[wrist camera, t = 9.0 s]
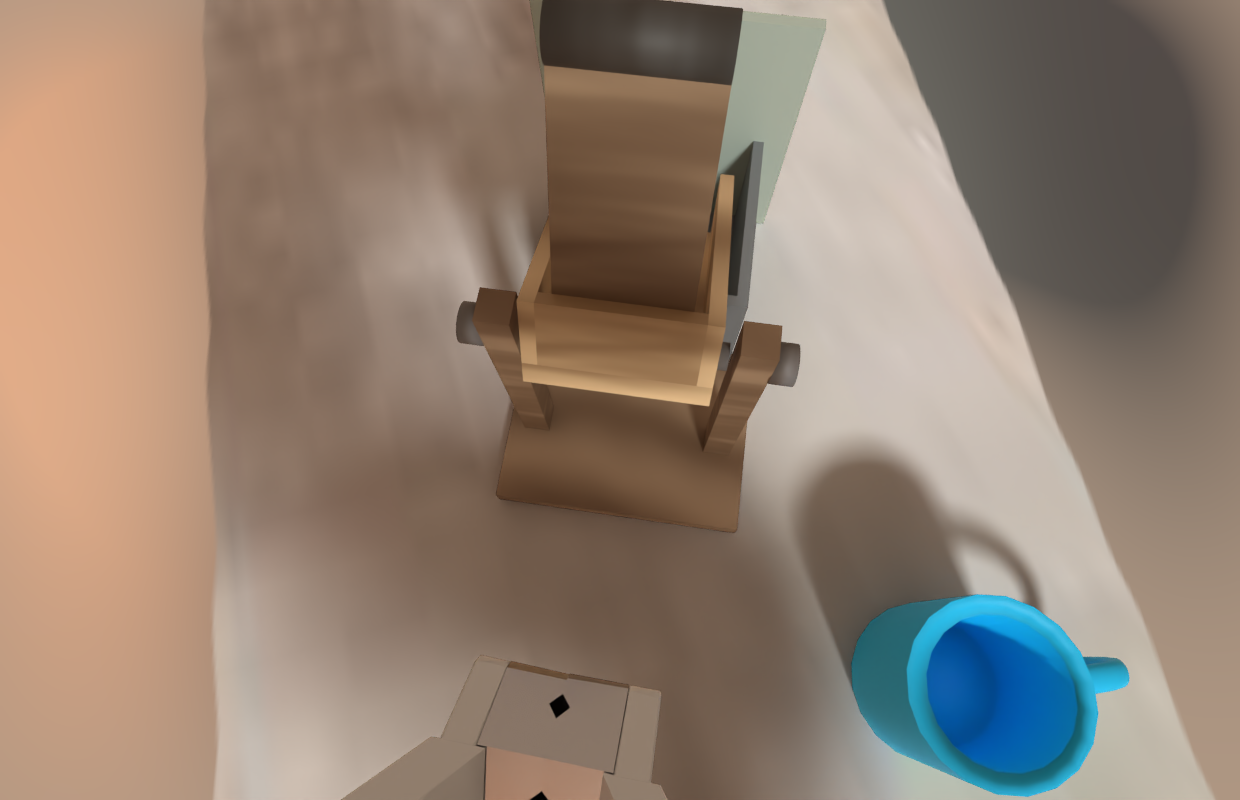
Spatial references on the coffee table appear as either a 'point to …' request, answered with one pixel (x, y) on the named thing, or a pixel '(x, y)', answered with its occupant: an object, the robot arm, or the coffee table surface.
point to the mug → (982, 691)
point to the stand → (627, 430)
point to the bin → (754, 130)
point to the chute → (632, 200)
